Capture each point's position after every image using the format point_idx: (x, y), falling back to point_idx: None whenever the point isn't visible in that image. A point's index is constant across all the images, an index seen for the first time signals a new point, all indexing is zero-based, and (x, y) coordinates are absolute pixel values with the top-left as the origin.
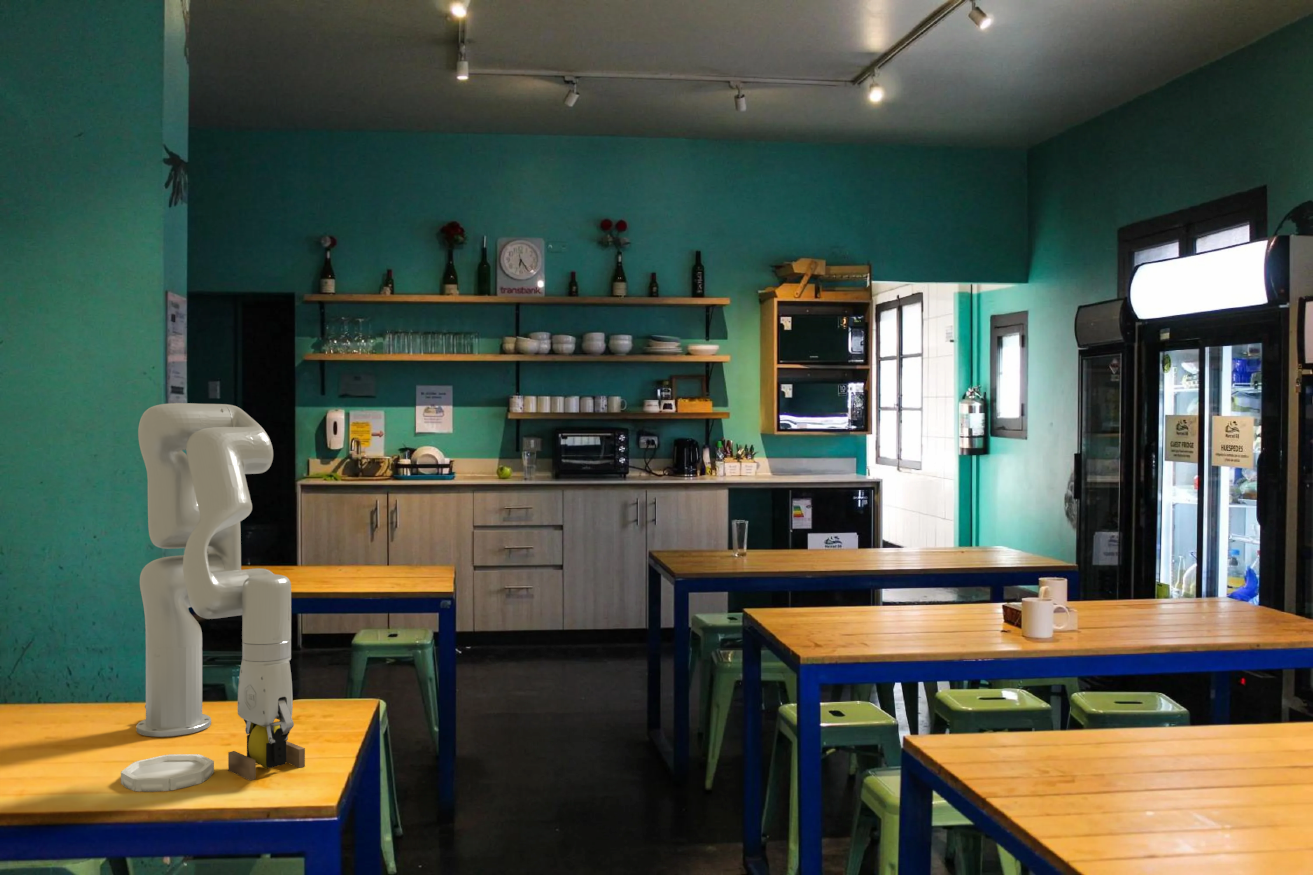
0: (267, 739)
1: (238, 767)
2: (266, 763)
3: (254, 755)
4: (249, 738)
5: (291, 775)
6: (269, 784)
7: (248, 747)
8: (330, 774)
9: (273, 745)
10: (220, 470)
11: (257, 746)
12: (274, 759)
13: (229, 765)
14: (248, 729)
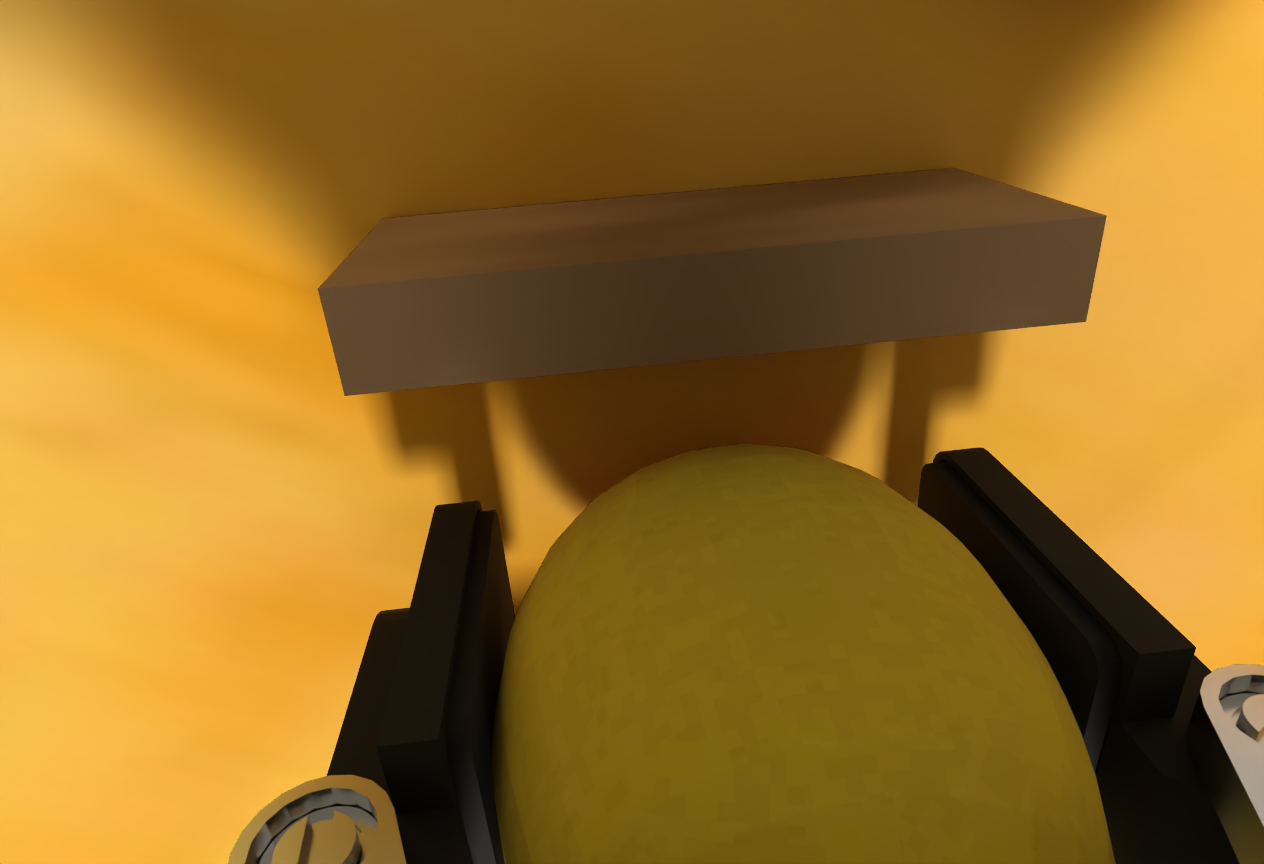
0: (519, 809)
1: (703, 212)
2: (464, 519)
3: (657, 476)
4: (913, 609)
5: (292, 622)
6: (73, 345)
7: (860, 496)
8: (120, 856)
9: (372, 779)
10: None
11: (609, 591)
12: (379, 622)
13: (958, 182)
14: (1261, 751)
